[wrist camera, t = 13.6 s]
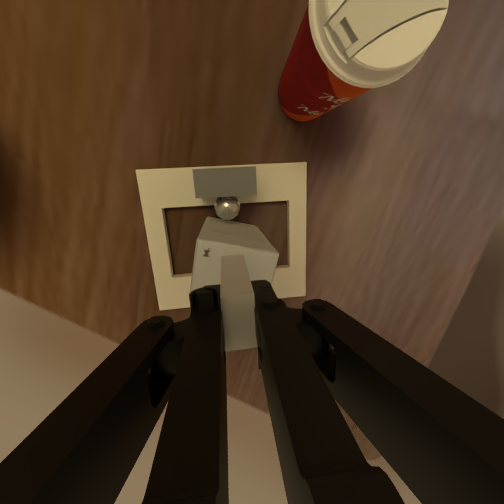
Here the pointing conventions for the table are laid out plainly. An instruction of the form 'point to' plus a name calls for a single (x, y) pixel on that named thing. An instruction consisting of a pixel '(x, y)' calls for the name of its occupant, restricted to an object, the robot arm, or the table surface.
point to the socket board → (205, 193)
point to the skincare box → (231, 251)
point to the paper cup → (354, 50)
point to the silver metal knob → (227, 207)
